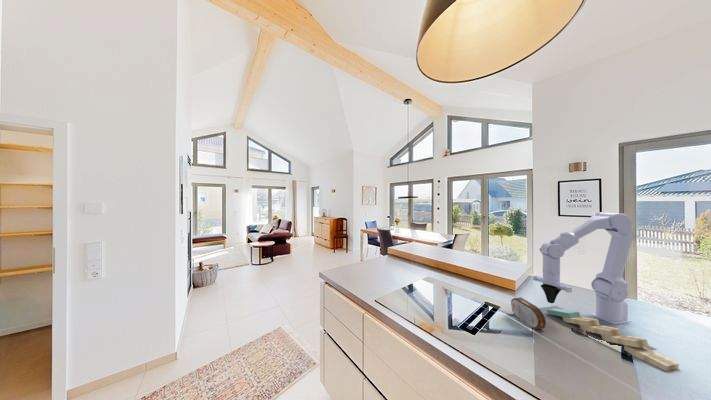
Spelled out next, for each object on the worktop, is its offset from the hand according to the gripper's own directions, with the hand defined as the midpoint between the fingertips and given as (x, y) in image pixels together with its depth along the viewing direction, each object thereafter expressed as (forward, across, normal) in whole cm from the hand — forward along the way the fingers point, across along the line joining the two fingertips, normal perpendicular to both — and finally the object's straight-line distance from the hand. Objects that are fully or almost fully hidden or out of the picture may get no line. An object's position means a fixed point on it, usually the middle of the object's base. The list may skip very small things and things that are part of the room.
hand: (550, 302), depth 99 cm
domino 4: (+4, +19, 0) cm, 19 cm away
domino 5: (+3, +25, 0) cm, 25 cm away
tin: (+5, +3, -17) cm, 18 cm away
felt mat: (+5, +11, +2) cm, 12 cm away
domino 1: (+4, 0, 0) cm, 4 cm away
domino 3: (+4, +12, 0) cm, 13 cm away
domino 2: (+4, +6, 0) cm, 7 cm away
